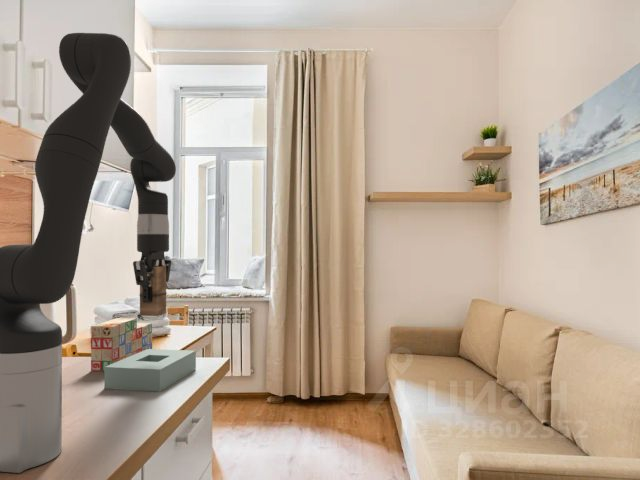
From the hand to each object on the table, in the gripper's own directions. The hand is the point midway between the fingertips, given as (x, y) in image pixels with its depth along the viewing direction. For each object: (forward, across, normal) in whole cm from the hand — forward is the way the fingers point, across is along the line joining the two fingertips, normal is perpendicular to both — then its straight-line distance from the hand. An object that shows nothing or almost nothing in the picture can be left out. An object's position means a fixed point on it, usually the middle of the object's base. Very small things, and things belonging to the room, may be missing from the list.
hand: (153, 300), depth 109 cm
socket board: (+19, 0, 0) cm, 19 cm away
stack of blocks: (+20, +14, +18) cm, 30 cm away
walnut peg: (+3, 0, 0) cm, 3 cm away
